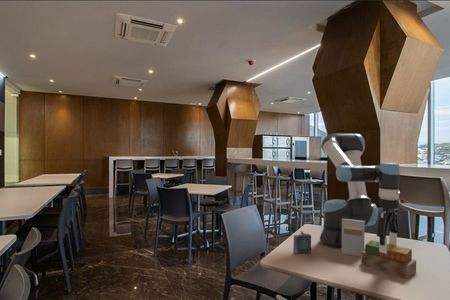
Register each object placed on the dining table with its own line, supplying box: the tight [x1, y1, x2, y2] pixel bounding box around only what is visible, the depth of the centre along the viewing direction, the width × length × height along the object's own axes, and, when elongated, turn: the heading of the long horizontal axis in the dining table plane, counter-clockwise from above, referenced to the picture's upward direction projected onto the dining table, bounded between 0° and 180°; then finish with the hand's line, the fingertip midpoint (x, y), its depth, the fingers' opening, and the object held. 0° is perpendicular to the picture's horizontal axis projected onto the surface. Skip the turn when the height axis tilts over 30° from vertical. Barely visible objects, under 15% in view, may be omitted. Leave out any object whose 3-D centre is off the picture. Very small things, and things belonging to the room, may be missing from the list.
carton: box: [364, 239, 413, 263], centre depth 118 cm, size 8×16×4 cm, turn 45°
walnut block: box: [360, 250, 417, 279], centre depth 118 cm, size 18×10×5 cm, turn 38°
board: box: [340, 219, 366, 258], centre depth 133 cm, size 5×10×16 cm, turn 64°
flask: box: [292, 230, 312, 256], centre depth 133 cm, size 9×3×11 cm, turn 105°
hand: (388, 249), depth 118 cm, fingers open, 10 cm apart
